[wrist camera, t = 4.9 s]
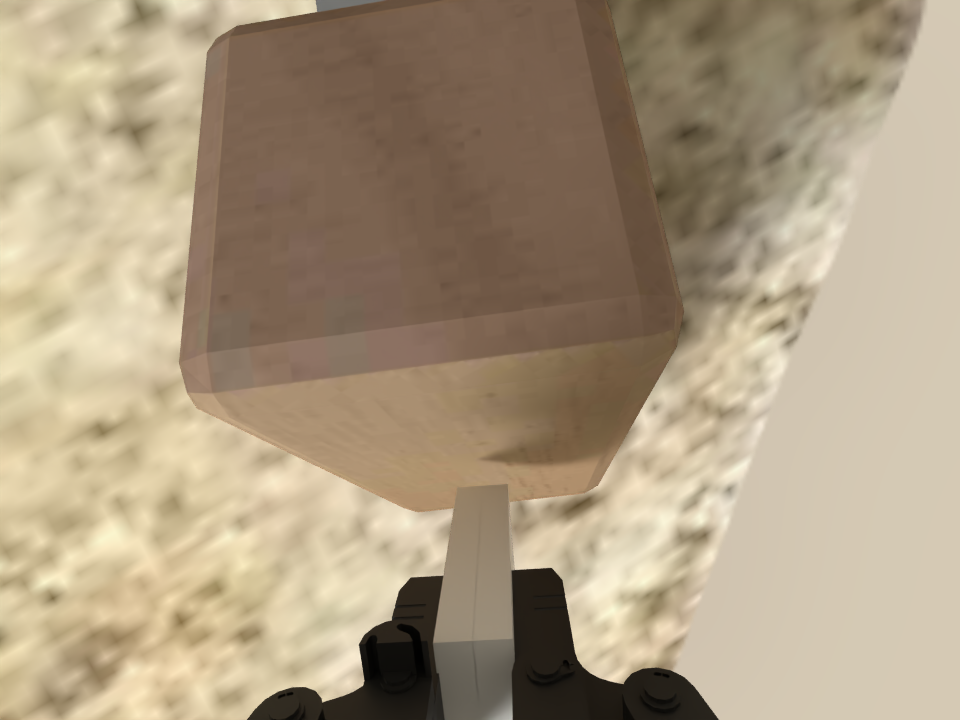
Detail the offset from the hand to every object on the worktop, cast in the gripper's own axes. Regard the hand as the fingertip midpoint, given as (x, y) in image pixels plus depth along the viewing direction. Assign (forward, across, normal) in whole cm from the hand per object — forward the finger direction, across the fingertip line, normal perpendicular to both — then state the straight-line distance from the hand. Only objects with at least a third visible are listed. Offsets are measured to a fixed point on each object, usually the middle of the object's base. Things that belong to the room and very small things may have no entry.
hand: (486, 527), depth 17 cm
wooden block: (+14, 0, -1) cm, 14 cm away
